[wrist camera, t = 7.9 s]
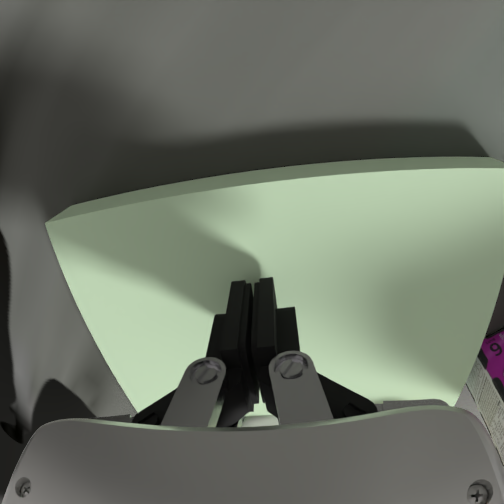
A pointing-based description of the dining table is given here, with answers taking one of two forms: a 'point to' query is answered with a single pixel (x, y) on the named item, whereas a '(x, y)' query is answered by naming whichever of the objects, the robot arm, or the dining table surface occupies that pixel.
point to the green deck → (298, 270)
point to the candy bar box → (490, 387)
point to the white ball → (260, 421)
